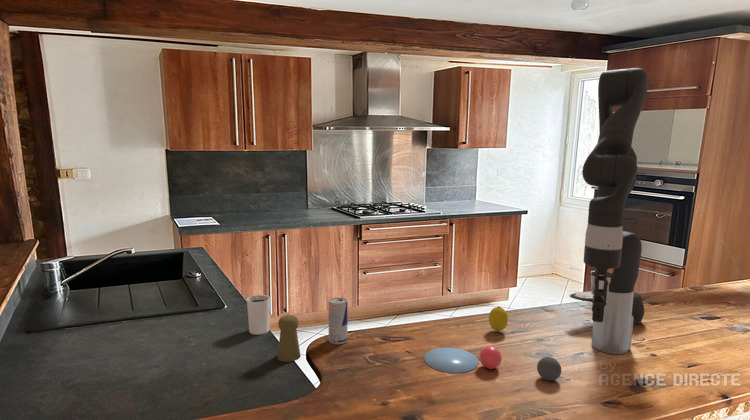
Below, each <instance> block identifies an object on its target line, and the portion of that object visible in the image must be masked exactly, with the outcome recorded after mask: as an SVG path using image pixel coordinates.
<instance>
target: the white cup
mask: <svg viewBox="0 0 750 420" xmlns="http://www.w3.org/2000/svg"><path fill="white" fill-rule="evenodd" d="M270 304H271V297H270V296H269V295H267V294H266V295H265V294H255V295H251V296H249V297H247V298H246V305H247V318H248V319H247V321H248V329H249V330H248V332H249V333H250V334H252V335H255V336H256V335H259V336H260V335H264V334H267V333H268V332H269V331H270V316H271V315H270V312H271V311H270V309H271V308H270V307H271V305H270Z"/></svg>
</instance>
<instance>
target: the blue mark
mask: <svg viewBox="0 0 750 420" xmlns="http://www.w3.org/2000/svg"><path fill="white" fill-rule="evenodd" d="M423 359H424V362H425V364H426V365H427V366H429V367H430V368H432V369H434V370H437V371H438V372H443V373H449V374H461V373H467V372H471V371H473V370H476V369H477V367H478V366H479V359H478V357H477V356H476V355H475V354H473V353H471V352H469V351H467V350H465V349H461V348H456V347H438V348H434V349H431V350H429V351H427V352H426V353H425V354H424V357H423Z"/></svg>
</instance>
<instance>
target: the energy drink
mask: <svg viewBox="0 0 750 420" xmlns="http://www.w3.org/2000/svg"><path fill="white" fill-rule="evenodd" d="M328 342H329V343H330V344H332V345H337V346H338V345H344V344H346V342H348V301H347V299H346V298H344V297H332V298H330V299H329V300H328Z"/></svg>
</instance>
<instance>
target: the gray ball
mask: <svg viewBox="0 0 750 420" xmlns="http://www.w3.org/2000/svg"><path fill="white" fill-rule="evenodd" d="M536 370H537V374H538V375H539V376H540V377H541V378H542V379H543V380H545V381H548V382H549V381H551V382H552V381H555V380H558V379H559V378H560V376H561V373H562V367H561V363H560V362H559V361H558V360H557V359H556V358H554V357H552V356H545V357H542V358H541V359H540V360H538V362H537V366H536Z"/></svg>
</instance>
